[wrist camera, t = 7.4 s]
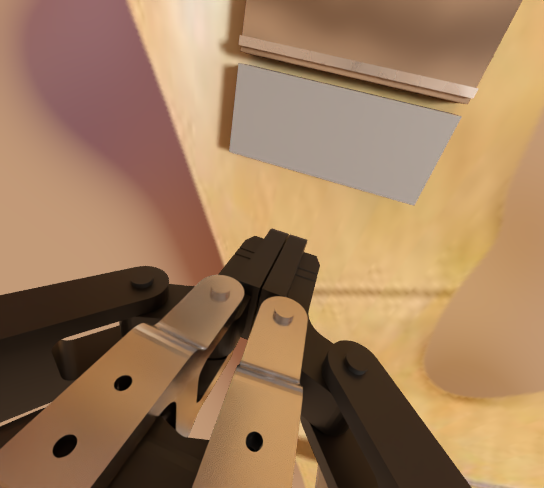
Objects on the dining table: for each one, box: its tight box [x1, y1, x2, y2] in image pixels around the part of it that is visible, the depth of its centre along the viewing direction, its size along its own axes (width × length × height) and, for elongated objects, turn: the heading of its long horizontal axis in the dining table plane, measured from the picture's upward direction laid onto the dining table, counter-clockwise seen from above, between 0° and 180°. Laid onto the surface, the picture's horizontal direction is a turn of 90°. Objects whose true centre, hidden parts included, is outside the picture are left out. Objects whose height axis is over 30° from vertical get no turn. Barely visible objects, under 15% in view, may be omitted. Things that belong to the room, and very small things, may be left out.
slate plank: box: [229, 63, 461, 205], centre depth 23 cm, size 7×17×2 cm, turn 78°
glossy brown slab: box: [239, 0, 522, 104], centre depth 19 cm, size 8×17×2 cm, turn 78°
